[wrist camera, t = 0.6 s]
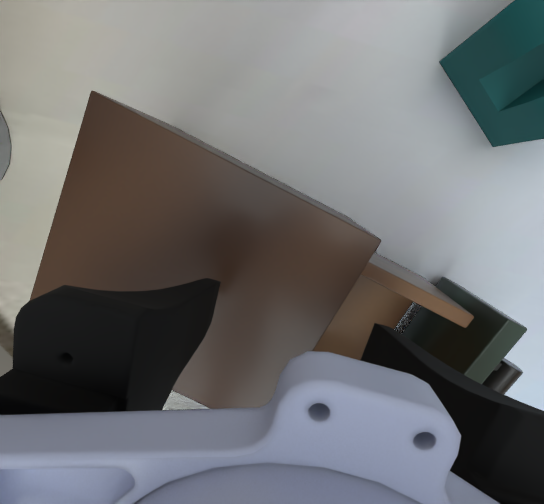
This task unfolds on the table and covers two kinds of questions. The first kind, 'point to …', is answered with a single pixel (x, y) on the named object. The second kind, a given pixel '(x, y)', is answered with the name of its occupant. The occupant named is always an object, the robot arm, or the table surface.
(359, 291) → the drawer
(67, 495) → the robot arm
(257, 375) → the cabinet
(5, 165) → the lava lamp
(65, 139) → the table surface
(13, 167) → the table surface
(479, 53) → the bracket
